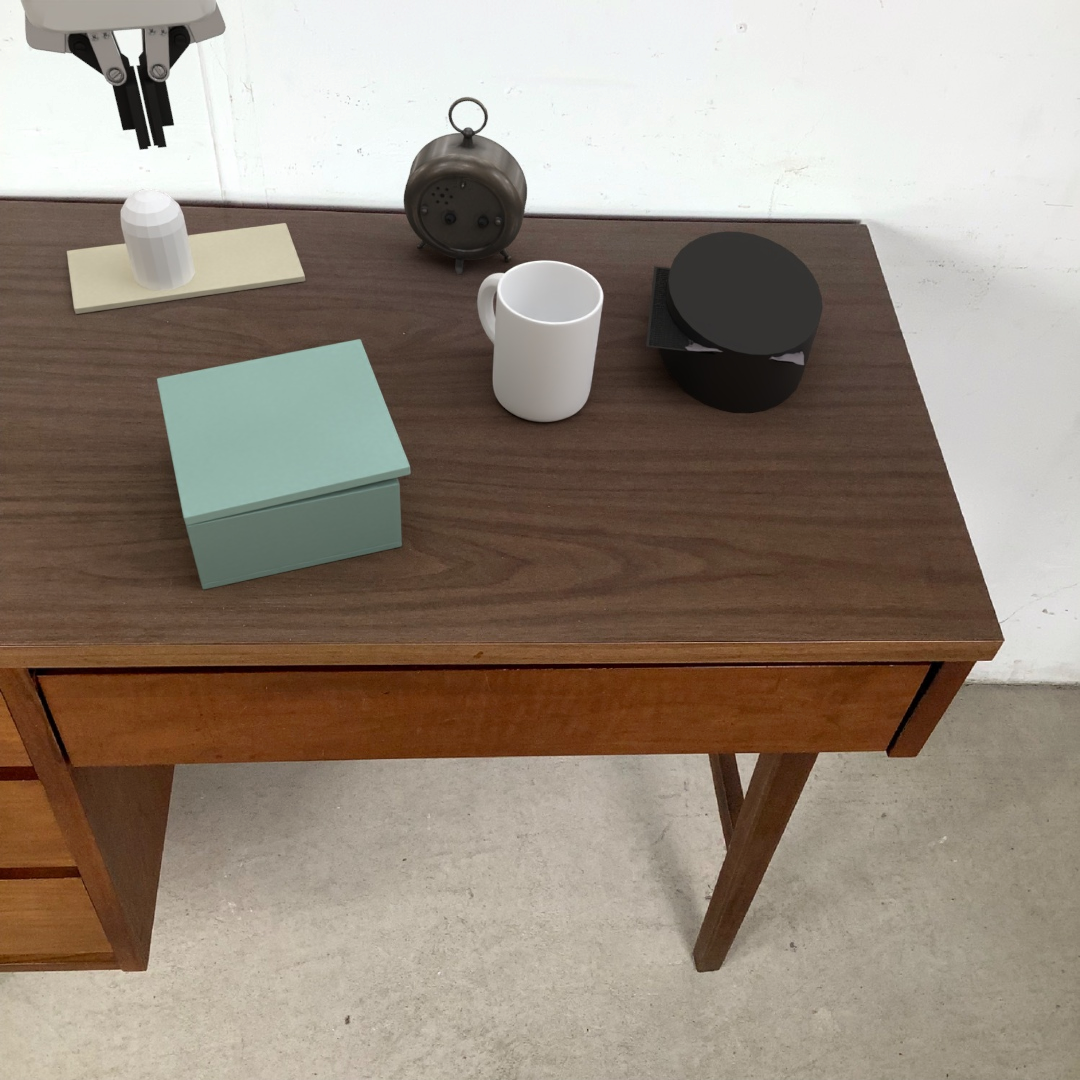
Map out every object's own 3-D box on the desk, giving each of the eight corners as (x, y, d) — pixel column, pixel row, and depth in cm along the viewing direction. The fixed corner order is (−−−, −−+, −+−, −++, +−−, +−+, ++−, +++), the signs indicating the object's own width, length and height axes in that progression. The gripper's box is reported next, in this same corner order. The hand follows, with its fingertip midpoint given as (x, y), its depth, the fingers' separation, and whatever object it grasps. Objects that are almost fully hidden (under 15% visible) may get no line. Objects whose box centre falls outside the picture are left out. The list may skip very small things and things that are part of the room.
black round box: (800, 308, 103) (818, 238, 97) (809, 423, 90) (831, 349, 84) (649, 292, 103) (659, 221, 98) (638, 403, 91) (648, 329, 85)
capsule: (197, 255, 98) (182, 176, 92) (192, 290, 95) (175, 210, 89) (137, 256, 98) (117, 176, 92) (130, 291, 94) (109, 210, 88)
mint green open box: (356, 419, 86) (351, 355, 81) (402, 546, 78) (399, 483, 73) (175, 452, 82) (158, 387, 77) (202, 590, 74) (186, 526, 69)
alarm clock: (523, 252, 104) (535, 90, 91) (517, 285, 100) (528, 120, 88) (411, 239, 104) (408, 75, 91) (401, 271, 100) (396, 105, 88)
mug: (443, 365, 92) (443, 263, 84) (513, 328, 96) (520, 227, 88) (539, 440, 86) (548, 338, 79) (609, 397, 90) (625, 296, 83)
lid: (361, 346, 81) (360, 338, 80) (411, 474, 73) (410, 466, 72) (158, 386, 77) (156, 378, 77) (186, 526, 69) (183, 518, 68)
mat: (75, 314, 92) (73, 308, 92) (68, 256, 98) (66, 250, 97) (305, 281, 98) (305, 275, 98) (286, 228, 103) (285, 222, 103)
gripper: (220, -244, 56) (263, 97, 69) (-96, -242, 51) (16, 120, 65) (244, -200, 51) (285, 155, 65) (-99, -194, 47) (22, 184, 61)
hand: (150, 136), depth 65 cm, fingers closed
